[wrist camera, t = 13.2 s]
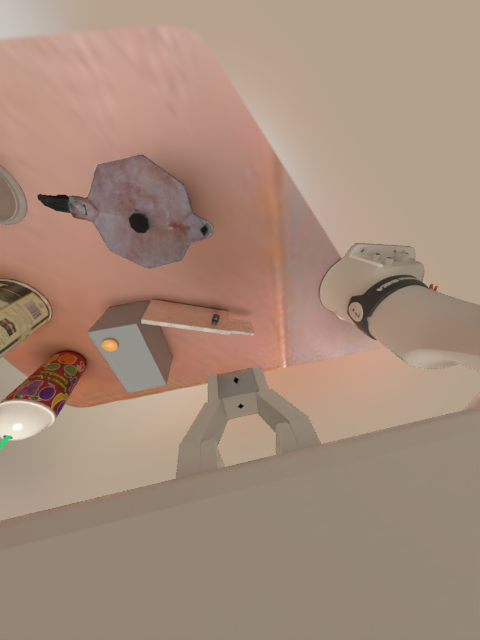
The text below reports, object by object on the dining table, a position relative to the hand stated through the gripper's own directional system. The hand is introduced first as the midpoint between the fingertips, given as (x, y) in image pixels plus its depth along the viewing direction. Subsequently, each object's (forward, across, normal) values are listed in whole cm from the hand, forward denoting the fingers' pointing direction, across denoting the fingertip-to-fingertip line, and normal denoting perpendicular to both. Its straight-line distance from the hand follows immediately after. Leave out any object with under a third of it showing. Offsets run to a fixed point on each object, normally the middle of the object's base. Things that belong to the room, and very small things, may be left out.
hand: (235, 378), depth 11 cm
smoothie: (+31, +37, +19) cm, 52 cm away
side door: (+31, +4, +11) cm, 33 cm away
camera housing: (+31, +19, +16) cm, 40 cm away
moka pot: (+31, +7, -8) cm, 33 cm away
